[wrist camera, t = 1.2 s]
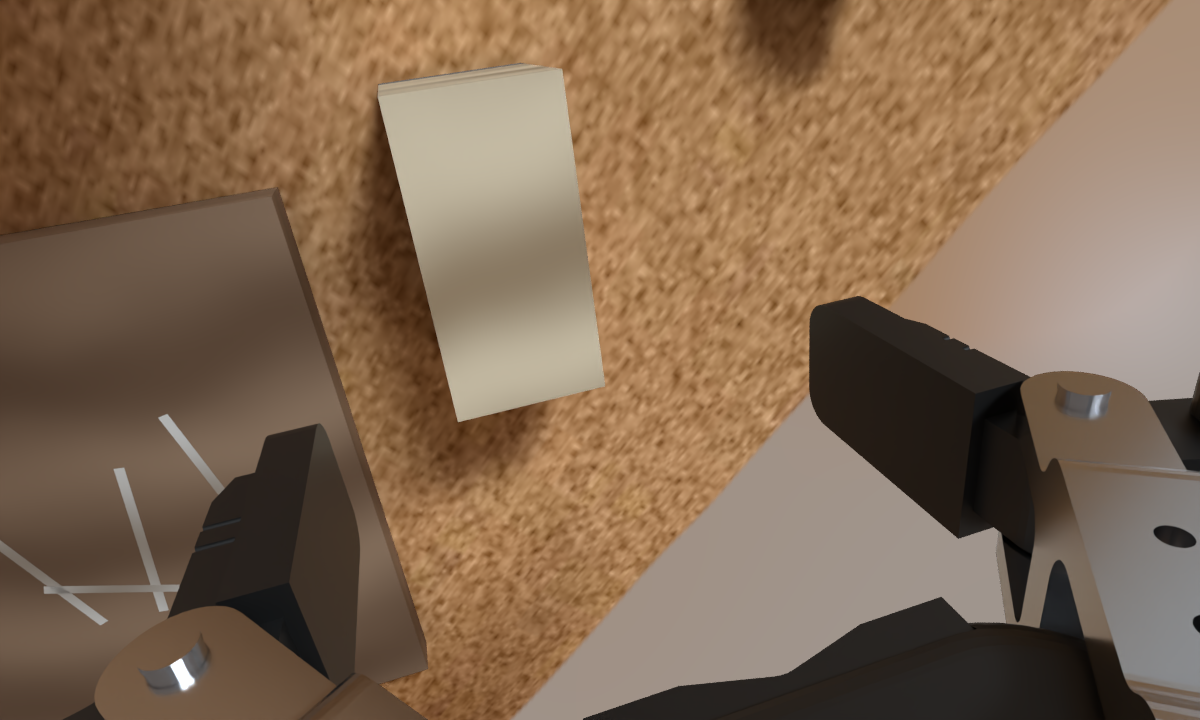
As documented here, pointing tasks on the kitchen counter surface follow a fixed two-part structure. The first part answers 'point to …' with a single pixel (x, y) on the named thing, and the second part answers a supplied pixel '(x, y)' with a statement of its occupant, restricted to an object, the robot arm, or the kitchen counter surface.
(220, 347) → the walnut board
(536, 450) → the kitchen counter surface
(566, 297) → the block
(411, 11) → the kitchen counter surface
